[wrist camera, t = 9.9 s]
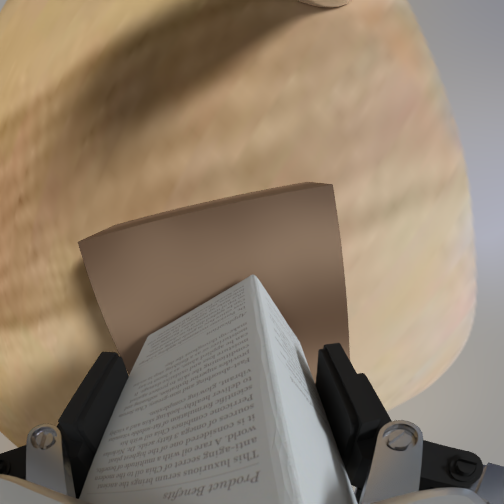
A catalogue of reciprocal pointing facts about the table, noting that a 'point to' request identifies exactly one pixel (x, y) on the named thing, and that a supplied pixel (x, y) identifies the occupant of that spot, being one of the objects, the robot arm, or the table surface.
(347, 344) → the walnut block
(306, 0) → the beer glass
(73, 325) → the table surface
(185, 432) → the skincare box
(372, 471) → the robot arm
